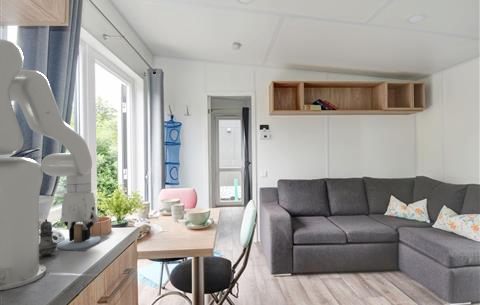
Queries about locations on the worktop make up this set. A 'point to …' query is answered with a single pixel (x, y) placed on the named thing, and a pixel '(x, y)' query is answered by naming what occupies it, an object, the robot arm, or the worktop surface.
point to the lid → (78, 240)
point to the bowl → (101, 226)
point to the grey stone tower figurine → (46, 241)
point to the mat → (84, 248)
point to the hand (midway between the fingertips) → (79, 239)
